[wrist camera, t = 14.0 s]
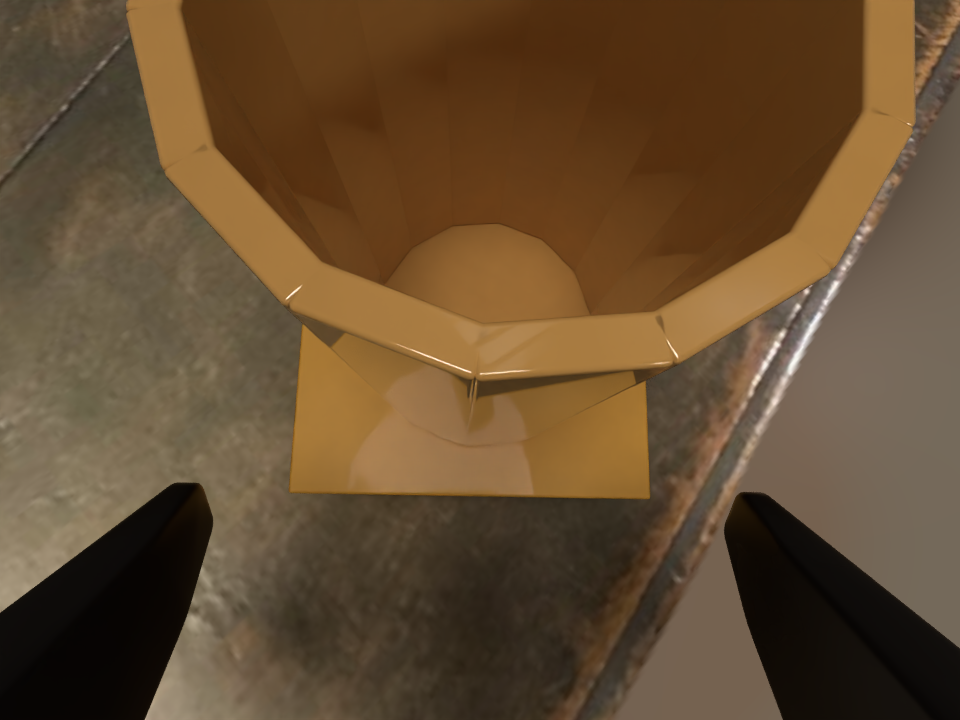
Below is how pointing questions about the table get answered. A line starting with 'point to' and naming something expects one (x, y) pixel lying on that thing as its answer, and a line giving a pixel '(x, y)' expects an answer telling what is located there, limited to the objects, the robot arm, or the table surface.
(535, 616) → the table surface
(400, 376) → the hollow tan tube
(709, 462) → the table surface
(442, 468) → the box
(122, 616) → the robot arm
